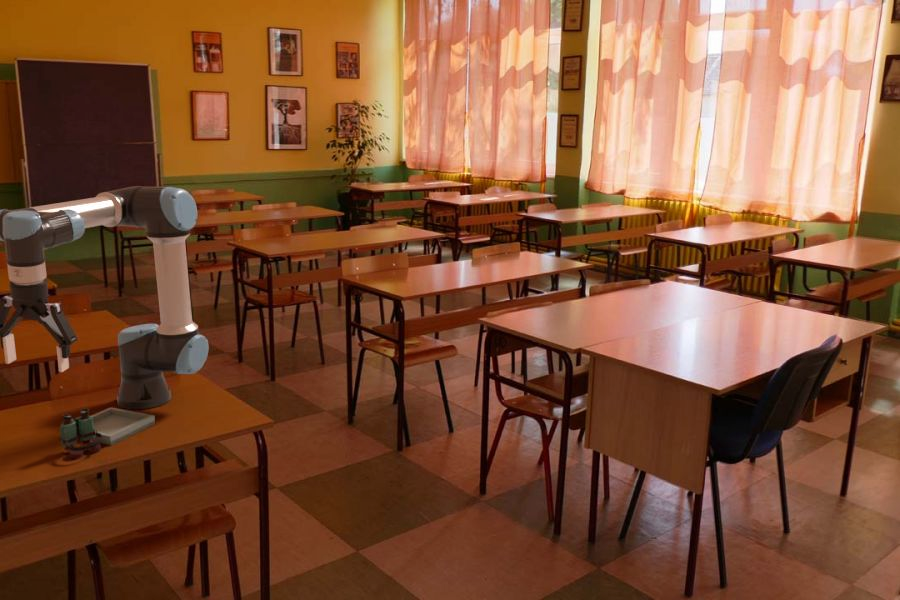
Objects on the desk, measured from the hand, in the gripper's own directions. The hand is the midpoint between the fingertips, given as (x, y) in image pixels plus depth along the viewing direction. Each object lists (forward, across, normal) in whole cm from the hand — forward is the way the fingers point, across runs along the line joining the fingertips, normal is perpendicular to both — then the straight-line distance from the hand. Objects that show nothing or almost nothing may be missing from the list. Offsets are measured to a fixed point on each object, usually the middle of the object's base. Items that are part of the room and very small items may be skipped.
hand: (37, 365), depth 184 cm
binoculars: (+28, +4, +8) cm, 29 cm away
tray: (+29, +2, +23) cm, 37 cm away
